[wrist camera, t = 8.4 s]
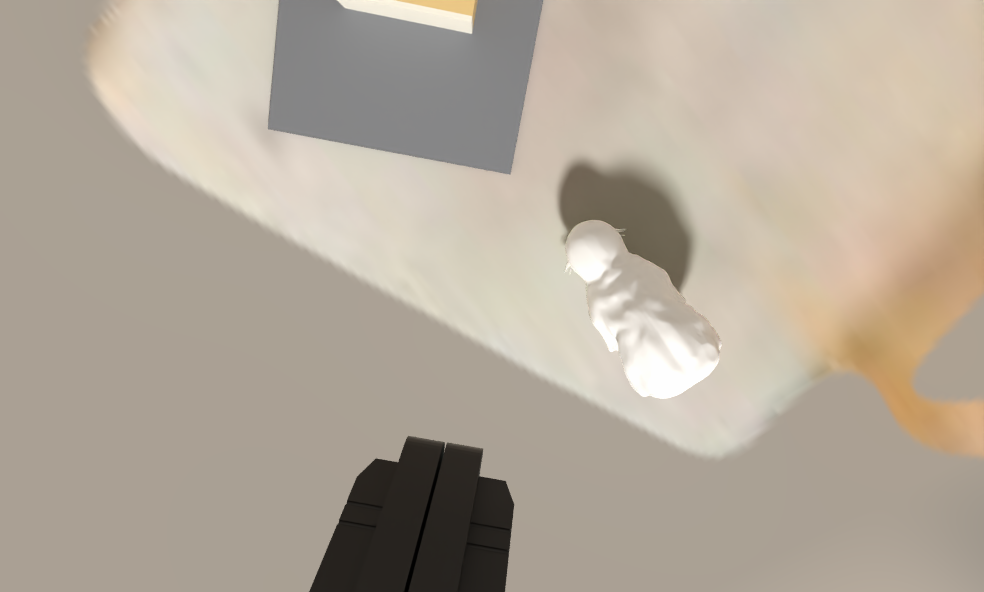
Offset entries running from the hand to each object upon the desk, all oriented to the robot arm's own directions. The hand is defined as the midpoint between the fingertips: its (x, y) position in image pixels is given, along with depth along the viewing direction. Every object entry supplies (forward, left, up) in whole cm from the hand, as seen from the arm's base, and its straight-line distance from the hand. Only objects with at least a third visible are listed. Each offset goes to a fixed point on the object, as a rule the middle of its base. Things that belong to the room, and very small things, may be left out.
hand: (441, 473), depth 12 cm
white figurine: (-11, +2, -31) cm, 33 cm away
